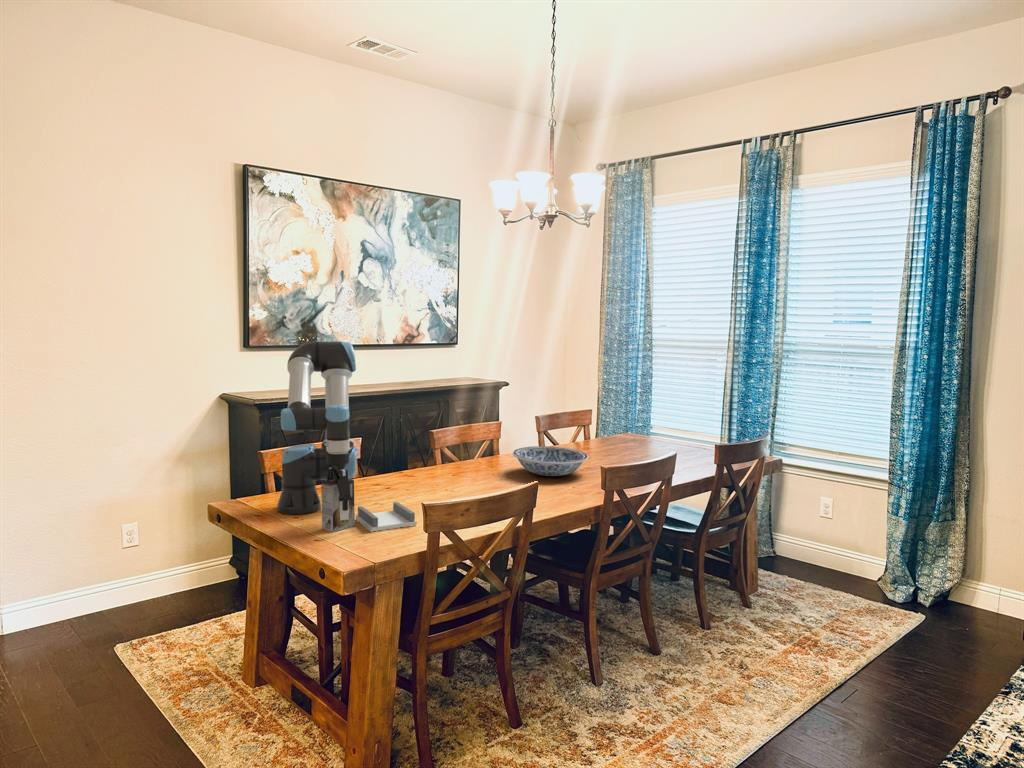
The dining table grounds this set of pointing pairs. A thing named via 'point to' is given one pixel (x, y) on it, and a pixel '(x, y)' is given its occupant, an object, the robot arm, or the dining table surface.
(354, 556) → the dining table surface
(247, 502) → the dining table surface
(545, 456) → the ceramic bowl
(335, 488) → the coffee box
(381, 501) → the dining table surface
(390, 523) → the guide cradle
